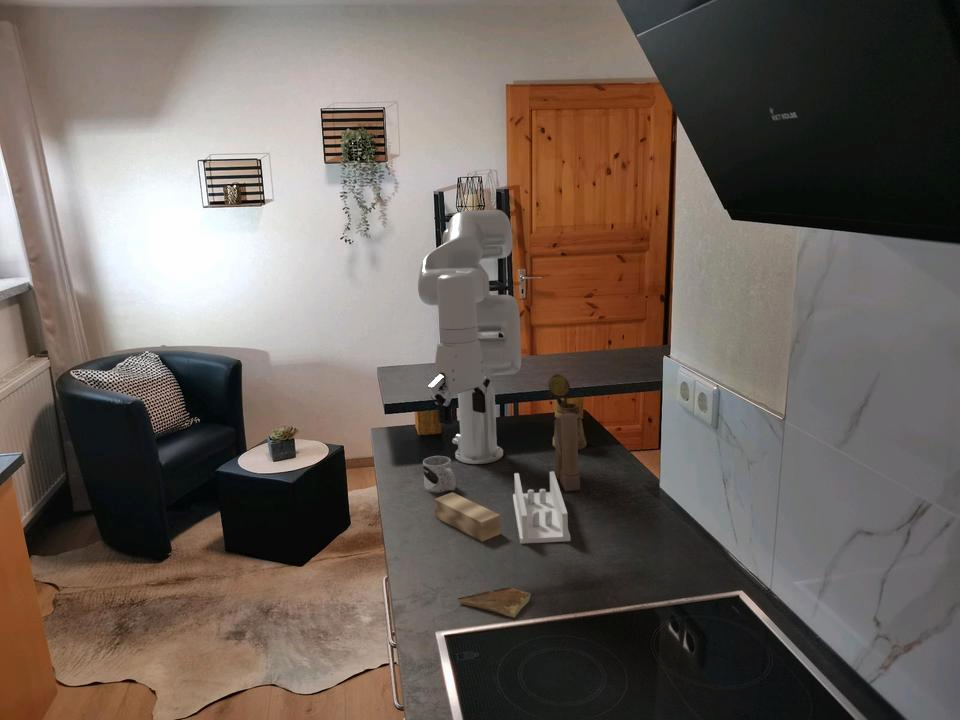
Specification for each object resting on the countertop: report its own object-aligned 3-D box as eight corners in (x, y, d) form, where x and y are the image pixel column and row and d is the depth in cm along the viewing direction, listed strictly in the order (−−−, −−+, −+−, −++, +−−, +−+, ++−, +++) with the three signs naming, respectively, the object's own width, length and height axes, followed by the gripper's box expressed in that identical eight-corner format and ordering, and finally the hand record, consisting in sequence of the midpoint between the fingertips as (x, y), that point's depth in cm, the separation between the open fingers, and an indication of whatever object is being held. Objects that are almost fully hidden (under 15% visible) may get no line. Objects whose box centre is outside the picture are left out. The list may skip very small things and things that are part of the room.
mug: (419, 487, 179) (417, 461, 177) (441, 479, 183) (440, 453, 181) (443, 499, 171) (442, 472, 170) (466, 491, 175) (465, 464, 174)
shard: (457, 606, 129) (457, 596, 129) (480, 585, 135) (479, 576, 135) (513, 622, 124) (512, 612, 123) (533, 599, 130) (533, 590, 130)
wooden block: (569, 473, 183) (568, 403, 179) (580, 490, 173) (579, 416, 168) (555, 474, 183) (553, 404, 178) (564, 492, 172) (563, 417, 168)
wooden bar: (435, 518, 163) (434, 499, 162) (453, 511, 166) (452, 492, 165) (482, 543, 150) (481, 522, 149) (501, 534, 154) (500, 514, 152)
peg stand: (570, 541, 149) (570, 513, 148) (520, 543, 149) (519, 515, 147) (556, 495, 170) (556, 471, 169) (512, 498, 170) (512, 473, 169)
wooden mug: (571, 432, 212) (570, 371, 208) (591, 448, 199) (590, 383, 195) (542, 436, 210) (540, 374, 205) (560, 452, 197) (558, 387, 193)
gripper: (475, 326, 157) (478, 404, 161) (413, 341, 145) (419, 425, 149) (501, 330, 152) (504, 410, 156) (440, 345, 140) (445, 432, 144)
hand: (462, 417), depth 153 cm, fingers open, 9 cm apart
